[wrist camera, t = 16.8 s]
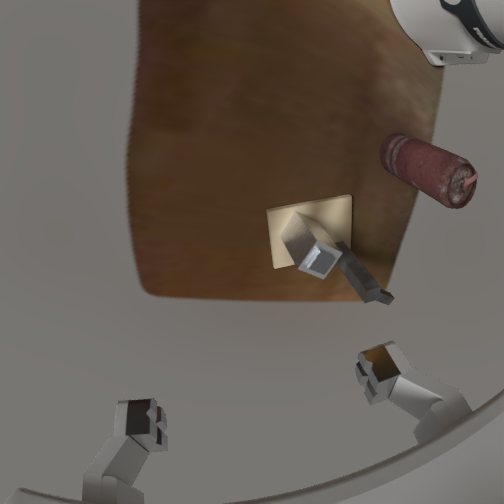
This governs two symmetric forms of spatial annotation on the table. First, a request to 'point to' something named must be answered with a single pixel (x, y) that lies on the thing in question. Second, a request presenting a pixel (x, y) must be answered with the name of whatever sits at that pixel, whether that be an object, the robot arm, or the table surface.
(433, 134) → the table surface
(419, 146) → the can
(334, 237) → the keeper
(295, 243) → the grey square pillar
